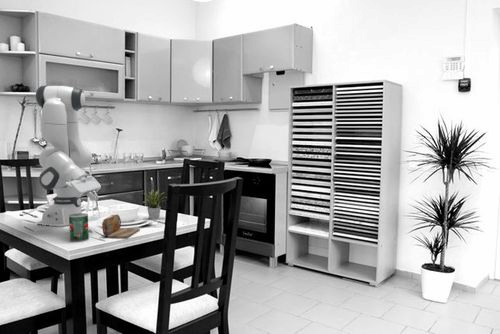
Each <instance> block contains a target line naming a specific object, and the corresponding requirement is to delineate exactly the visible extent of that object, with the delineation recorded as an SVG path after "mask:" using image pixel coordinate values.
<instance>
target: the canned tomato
mask: <svg viewBox="0 0 500 334" xmlns="http://www.w3.org/2000/svg"><path fill="white" fill-rule="evenodd" d="M68 226H69V241H70V242H75V243H78V242H84V241H85V242H86V241H88V240H89V239H90V237H89V236H90V235H89V233H90V231H89V215H88V213H78V214H72V215H69V225H68Z"/></svg>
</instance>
